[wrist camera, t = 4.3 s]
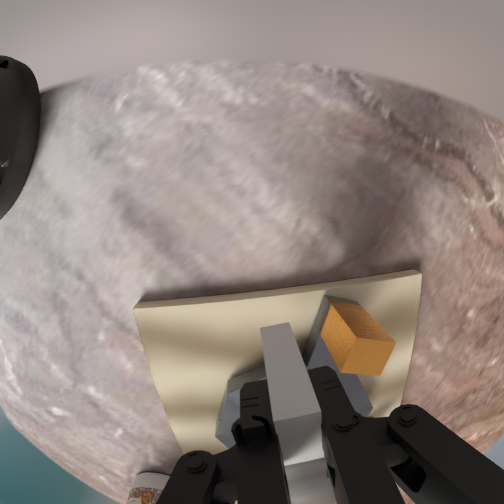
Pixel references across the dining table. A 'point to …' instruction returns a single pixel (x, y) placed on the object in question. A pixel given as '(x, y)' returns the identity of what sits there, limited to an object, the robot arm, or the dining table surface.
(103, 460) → the dining table surface
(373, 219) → the dining table surface
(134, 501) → the bath foam
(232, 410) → the flange
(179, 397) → the post base
